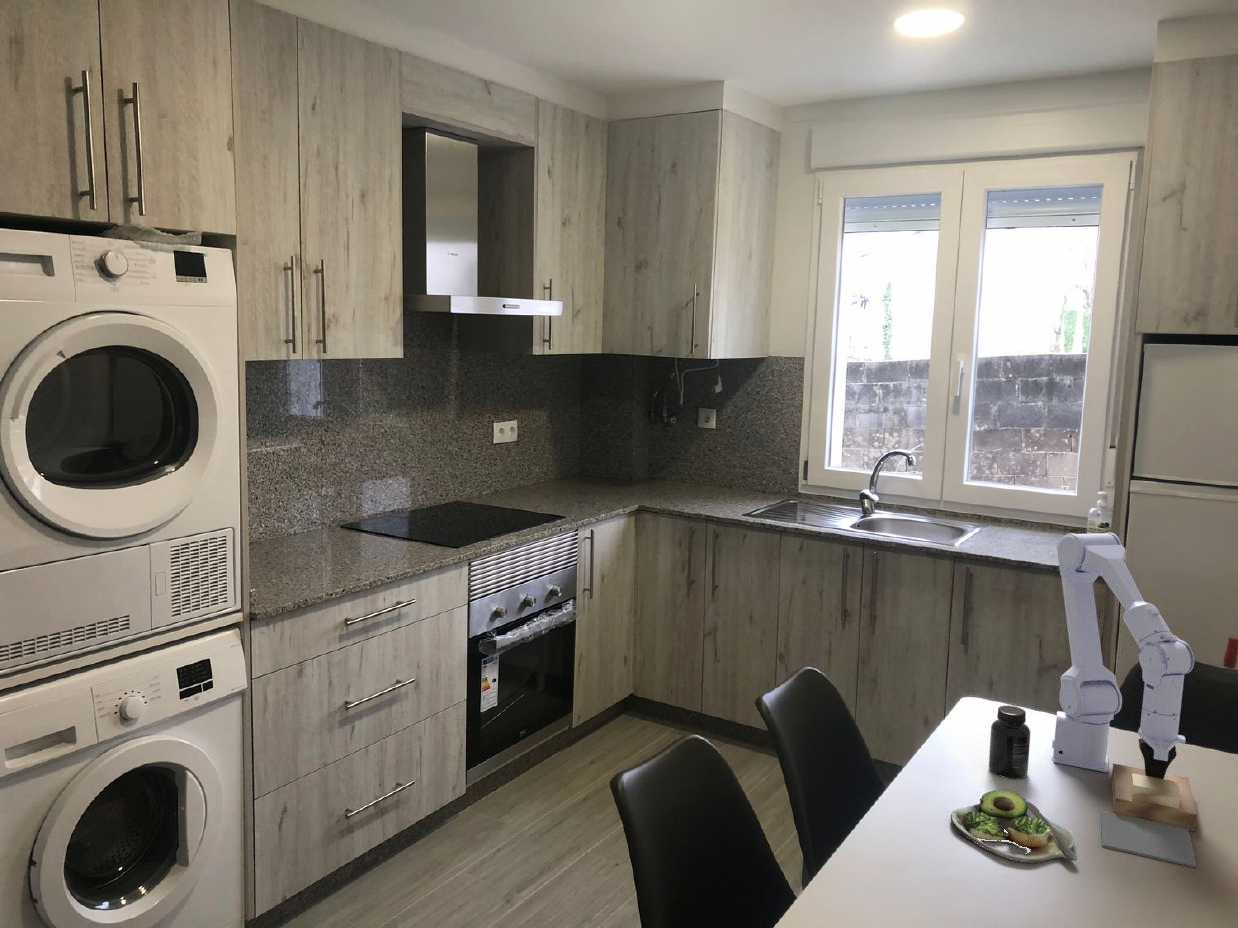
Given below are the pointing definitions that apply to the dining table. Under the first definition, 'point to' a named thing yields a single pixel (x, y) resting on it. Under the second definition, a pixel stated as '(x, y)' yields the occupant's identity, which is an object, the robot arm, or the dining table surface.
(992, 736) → the supplement bottle
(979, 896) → the dining table surface
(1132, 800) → the block
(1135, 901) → the dining table surface
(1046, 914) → the dining table surface
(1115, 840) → the rubber mat
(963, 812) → the salad plate
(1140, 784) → the ash block
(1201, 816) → the dining table surface
